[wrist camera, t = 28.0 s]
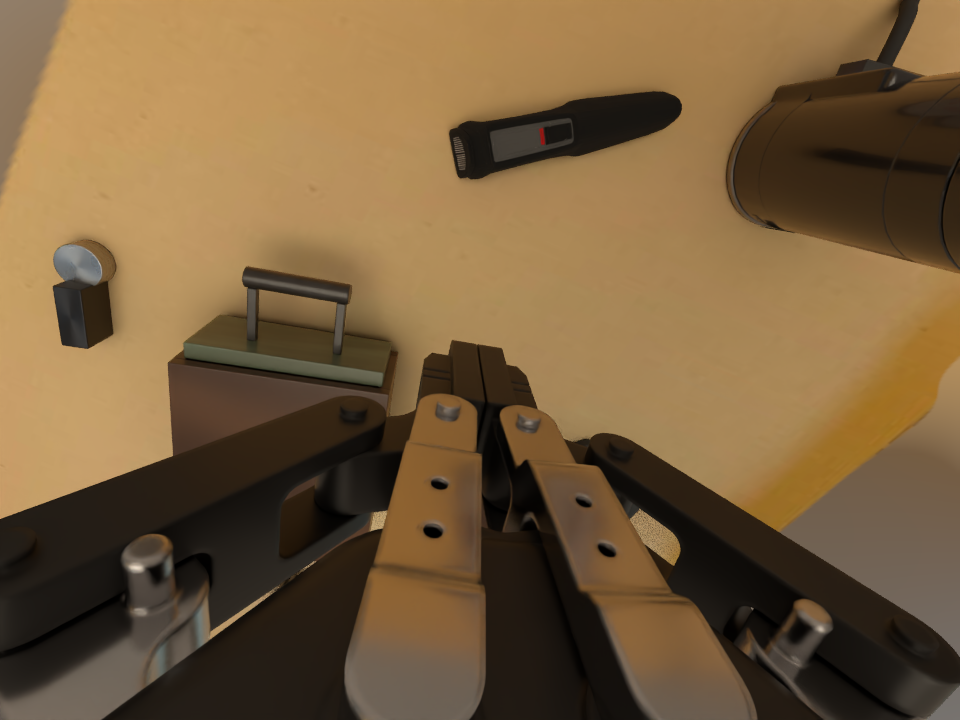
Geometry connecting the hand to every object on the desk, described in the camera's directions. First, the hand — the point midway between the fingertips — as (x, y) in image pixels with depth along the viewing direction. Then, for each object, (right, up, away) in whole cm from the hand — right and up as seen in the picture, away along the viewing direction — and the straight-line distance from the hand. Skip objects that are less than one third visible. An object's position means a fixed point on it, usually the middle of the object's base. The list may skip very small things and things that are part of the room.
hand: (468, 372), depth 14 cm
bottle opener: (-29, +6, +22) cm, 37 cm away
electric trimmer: (+6, +17, +20) cm, 27 cm away
